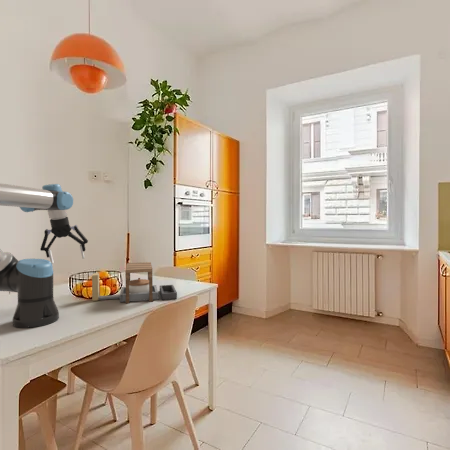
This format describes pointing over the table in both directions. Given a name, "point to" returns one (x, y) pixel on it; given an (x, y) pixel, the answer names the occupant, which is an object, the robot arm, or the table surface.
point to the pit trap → (168, 292)
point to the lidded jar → (139, 286)
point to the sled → (122, 294)
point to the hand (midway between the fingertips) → (68, 260)
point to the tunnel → (136, 269)
